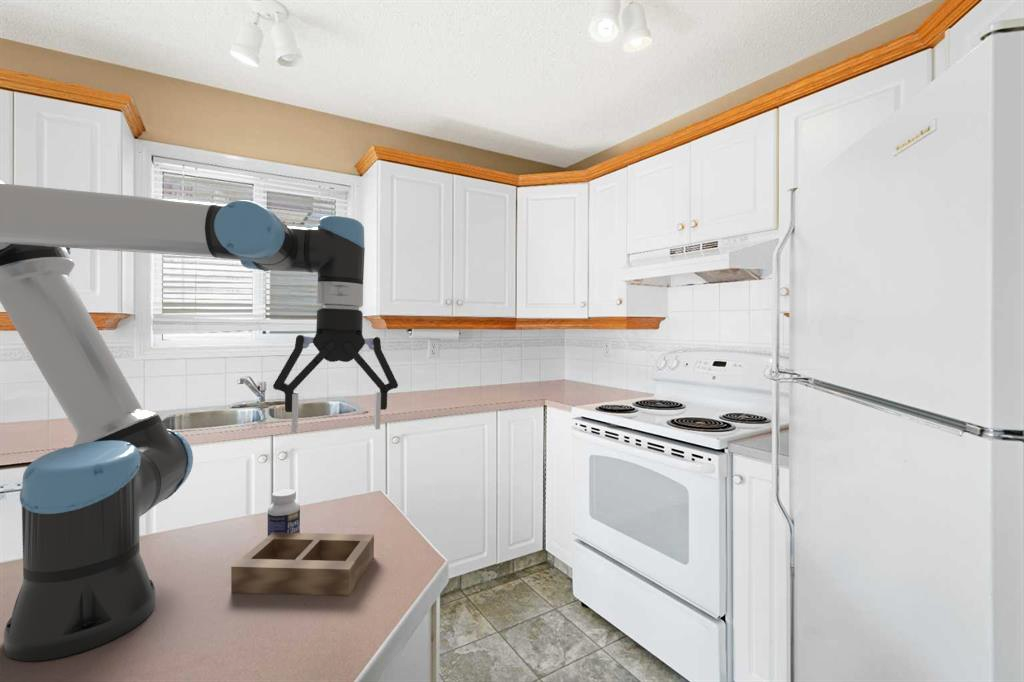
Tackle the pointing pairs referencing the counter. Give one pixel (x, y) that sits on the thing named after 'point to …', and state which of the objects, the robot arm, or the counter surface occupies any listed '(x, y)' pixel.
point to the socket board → (304, 564)
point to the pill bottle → (284, 512)
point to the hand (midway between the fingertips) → (337, 429)
